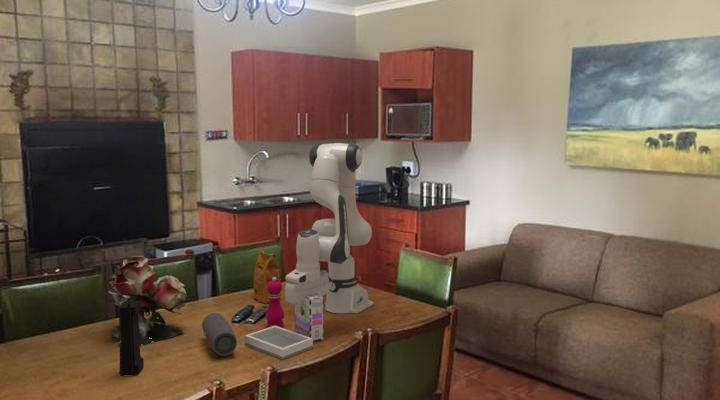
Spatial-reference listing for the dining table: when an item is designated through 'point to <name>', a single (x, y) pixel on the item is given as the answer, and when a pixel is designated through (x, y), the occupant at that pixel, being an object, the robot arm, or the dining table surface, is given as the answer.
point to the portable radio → (130, 339)
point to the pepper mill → (274, 304)
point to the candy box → (310, 317)
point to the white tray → (279, 342)
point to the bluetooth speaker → (219, 334)
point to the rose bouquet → (147, 298)
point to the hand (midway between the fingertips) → (308, 309)
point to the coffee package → (264, 275)
